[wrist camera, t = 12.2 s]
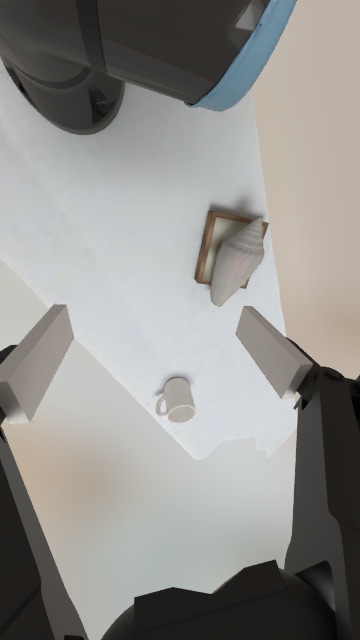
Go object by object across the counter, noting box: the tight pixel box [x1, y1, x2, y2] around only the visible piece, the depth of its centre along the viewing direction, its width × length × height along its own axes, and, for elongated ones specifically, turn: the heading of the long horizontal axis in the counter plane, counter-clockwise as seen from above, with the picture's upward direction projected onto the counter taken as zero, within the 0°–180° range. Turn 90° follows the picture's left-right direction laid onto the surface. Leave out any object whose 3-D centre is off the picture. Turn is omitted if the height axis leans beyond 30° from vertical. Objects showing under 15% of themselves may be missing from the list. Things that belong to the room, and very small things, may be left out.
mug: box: [156, 378, 196, 424], centre depth 58 cm, size 12×8×10 cm
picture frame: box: [194, 211, 269, 289], centre depth 41 cm, size 14×12×3 cm
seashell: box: [210, 217, 264, 307], centre depth 38 cm, size 9×11×15 cm
